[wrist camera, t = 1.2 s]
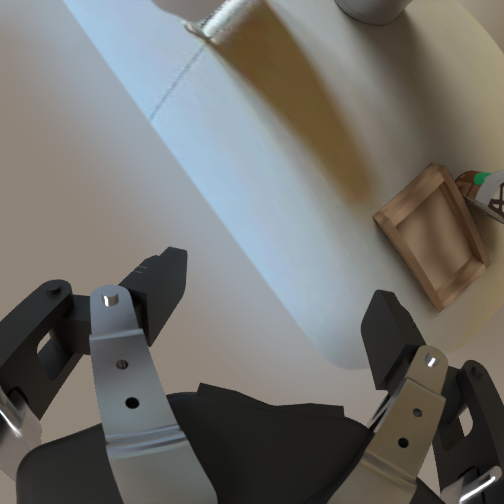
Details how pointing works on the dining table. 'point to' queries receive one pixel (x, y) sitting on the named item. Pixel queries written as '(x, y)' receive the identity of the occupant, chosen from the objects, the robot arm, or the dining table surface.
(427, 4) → the dining table surface
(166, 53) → the dining table surface
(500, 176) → the food container
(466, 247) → the wooden box
